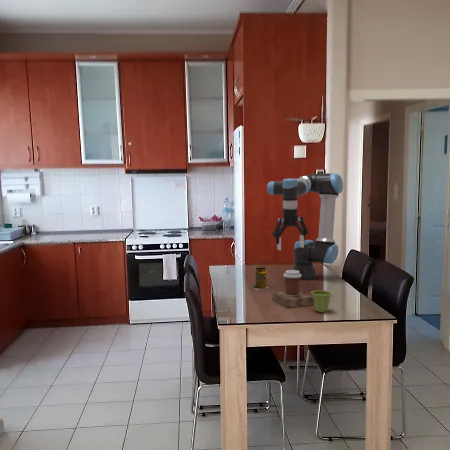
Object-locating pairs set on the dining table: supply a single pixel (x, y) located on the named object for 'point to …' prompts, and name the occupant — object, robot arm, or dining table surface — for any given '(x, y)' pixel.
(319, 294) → the plant pot
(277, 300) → the base slab
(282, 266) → the dining table surface
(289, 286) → the coffee cup
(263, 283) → the condiment
